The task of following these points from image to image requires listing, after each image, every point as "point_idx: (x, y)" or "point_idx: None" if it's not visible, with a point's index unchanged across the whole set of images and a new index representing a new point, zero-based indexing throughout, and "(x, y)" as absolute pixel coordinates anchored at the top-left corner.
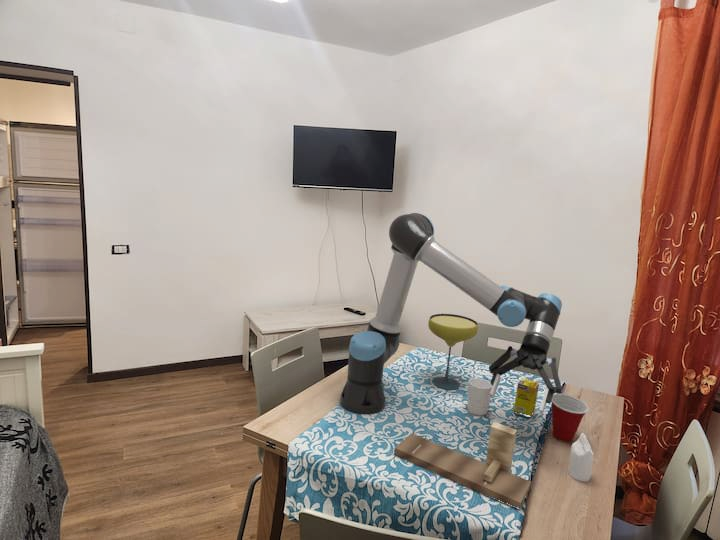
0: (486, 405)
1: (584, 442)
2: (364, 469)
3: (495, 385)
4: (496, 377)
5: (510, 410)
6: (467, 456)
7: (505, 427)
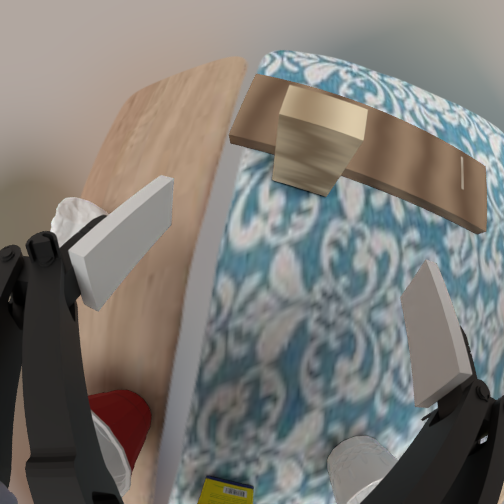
0: (341, 461)
1: (64, 204)
2: (482, 125)
3: (441, 300)
4: (463, 349)
5: (260, 494)
6: (377, 177)
7: (321, 115)
